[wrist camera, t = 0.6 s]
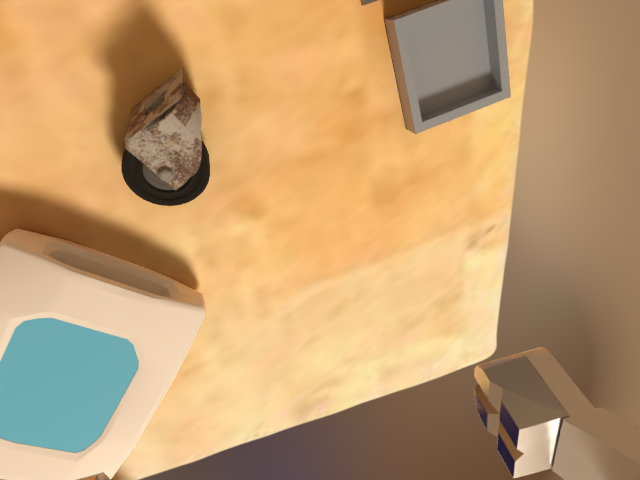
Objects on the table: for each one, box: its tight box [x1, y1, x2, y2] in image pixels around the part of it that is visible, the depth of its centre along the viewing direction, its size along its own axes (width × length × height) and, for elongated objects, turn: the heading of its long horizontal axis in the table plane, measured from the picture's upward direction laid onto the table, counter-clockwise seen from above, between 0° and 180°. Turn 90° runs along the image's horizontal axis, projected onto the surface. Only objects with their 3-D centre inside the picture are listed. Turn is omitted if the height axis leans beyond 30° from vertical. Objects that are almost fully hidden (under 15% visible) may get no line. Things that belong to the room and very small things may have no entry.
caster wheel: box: [122, 69, 210, 206], centre depth 46 cm, size 7×11×10 cm
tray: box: [384, 0, 511, 134], centre depth 51 cm, size 12×12×2 cm
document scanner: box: [0, 229, 206, 480], centre depth 53 cm, size 21×28×6 cm
